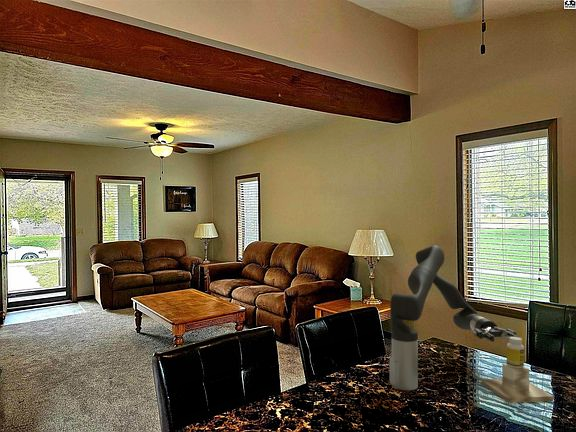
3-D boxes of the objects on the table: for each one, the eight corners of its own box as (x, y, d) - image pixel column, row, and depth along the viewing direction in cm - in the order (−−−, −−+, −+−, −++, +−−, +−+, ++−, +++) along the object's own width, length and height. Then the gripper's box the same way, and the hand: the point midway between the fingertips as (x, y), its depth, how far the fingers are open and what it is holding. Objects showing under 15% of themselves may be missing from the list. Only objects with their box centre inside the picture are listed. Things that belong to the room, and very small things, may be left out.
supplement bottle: (522, 369, 143) (522, 341, 143) (505, 366, 146) (505, 338, 147) (525, 365, 148) (525, 337, 148) (508, 362, 151) (508, 335, 151)
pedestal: (508, 402, 138) (508, 375, 138) (481, 383, 154) (481, 359, 154) (553, 400, 140) (553, 373, 140) (521, 381, 156) (521, 357, 156)
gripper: (466, 318, 170) (485, 328, 154) (500, 318, 170) (523, 328, 154) (466, 336, 170) (485, 349, 154) (500, 336, 170) (523, 349, 154)
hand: (504, 338), depth 154 cm, fingers open, 8 cm apart
